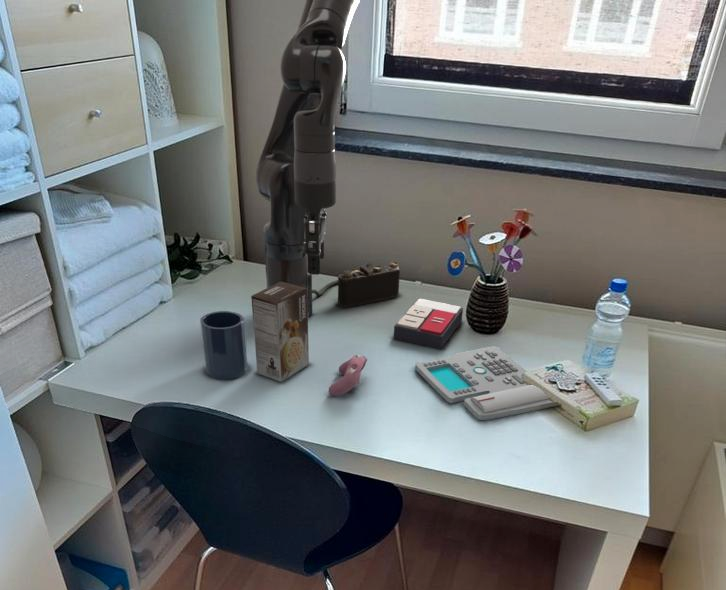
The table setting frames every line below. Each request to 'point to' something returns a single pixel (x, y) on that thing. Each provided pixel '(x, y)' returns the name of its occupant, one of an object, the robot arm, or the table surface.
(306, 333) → the coffee box
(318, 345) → the table surface
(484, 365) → the office telephone
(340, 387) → the video game controller
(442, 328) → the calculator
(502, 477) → the table surface
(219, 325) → the pen cup
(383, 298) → the camera
